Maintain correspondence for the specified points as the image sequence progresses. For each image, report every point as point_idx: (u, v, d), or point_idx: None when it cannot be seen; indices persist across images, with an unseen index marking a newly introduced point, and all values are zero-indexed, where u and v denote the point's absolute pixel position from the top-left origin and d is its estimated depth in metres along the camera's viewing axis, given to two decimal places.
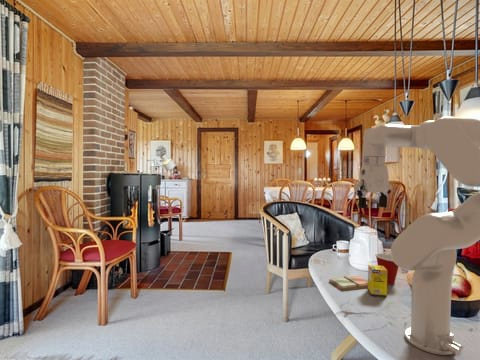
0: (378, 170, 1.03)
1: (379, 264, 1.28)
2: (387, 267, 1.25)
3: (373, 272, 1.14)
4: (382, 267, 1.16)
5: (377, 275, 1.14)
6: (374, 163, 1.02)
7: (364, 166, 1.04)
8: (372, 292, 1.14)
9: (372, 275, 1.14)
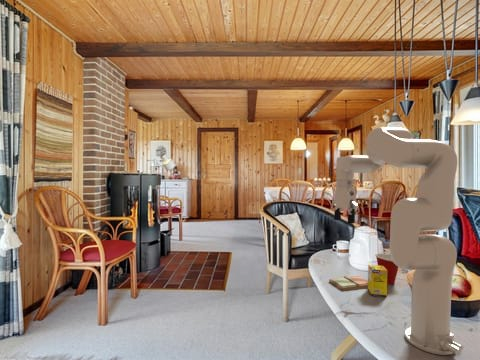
0: None
1: (379, 264, 1.28)
2: (387, 267, 1.25)
3: (373, 272, 1.14)
4: (382, 267, 1.16)
5: (377, 275, 1.14)
6: (353, 185, 1.27)
7: (351, 188, 1.24)
8: (372, 292, 1.14)
9: (372, 275, 1.14)
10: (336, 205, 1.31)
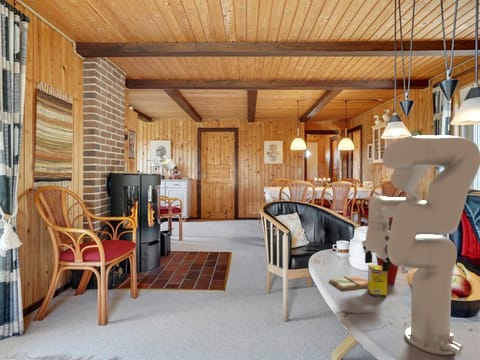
0: None
1: (379, 264, 1.28)
2: None
3: (373, 272, 1.14)
4: None
5: (377, 275, 1.14)
6: (388, 228, 1.15)
7: (386, 232, 1.12)
8: (372, 292, 1.14)
9: (372, 275, 1.14)
10: (368, 248, 1.19)
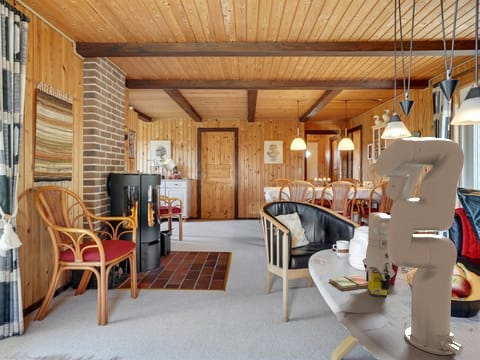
0: None
1: None
2: None
3: (373, 272, 1.14)
4: None
5: (377, 275, 1.14)
6: None
7: (386, 250, 1.12)
8: (372, 292, 1.14)
9: (372, 275, 1.14)
10: (368, 265, 1.19)
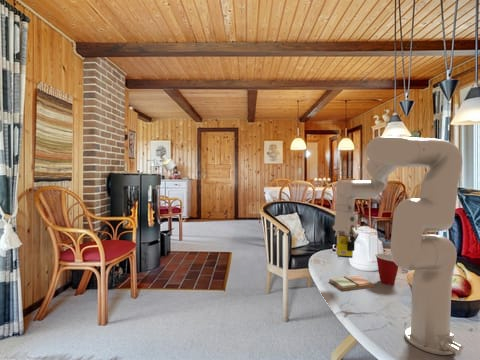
0: None
1: (379, 264, 1.28)
2: (387, 267, 1.25)
3: (340, 235, 1.22)
4: None
5: (344, 237, 1.22)
6: None
7: (352, 213, 1.20)
8: (339, 253, 1.22)
9: (339, 238, 1.22)
10: (336, 230, 1.27)
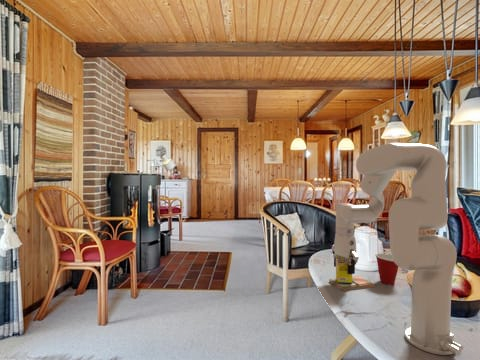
0: None
1: (379, 264, 1.28)
2: (387, 267, 1.25)
3: (339, 262, 1.22)
4: None
5: (343, 264, 1.22)
6: (353, 233, 1.23)
7: (351, 237, 1.20)
8: (339, 280, 1.22)
9: (338, 265, 1.22)
10: (336, 252, 1.27)
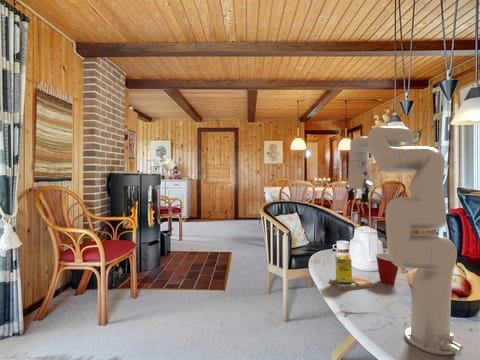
0: None
1: (379, 264, 1.28)
2: (387, 267, 1.25)
3: (338, 262, 1.22)
4: (347, 256, 1.24)
5: (342, 264, 1.22)
6: (366, 166, 1.32)
7: (365, 168, 1.30)
8: (339, 280, 1.22)
9: (338, 265, 1.22)
10: (350, 186, 1.36)
